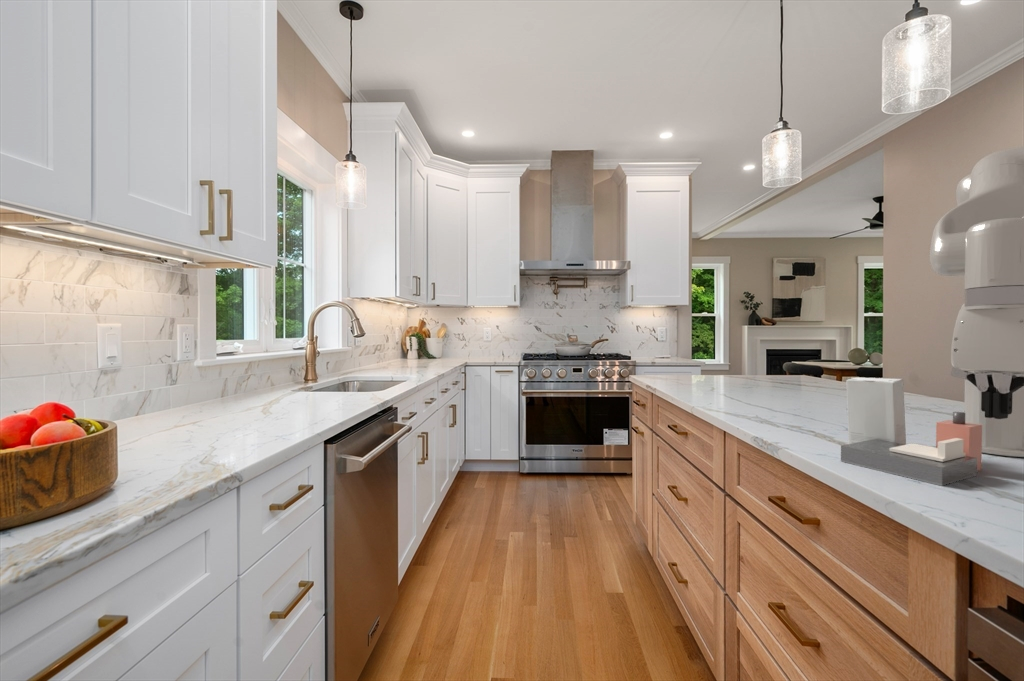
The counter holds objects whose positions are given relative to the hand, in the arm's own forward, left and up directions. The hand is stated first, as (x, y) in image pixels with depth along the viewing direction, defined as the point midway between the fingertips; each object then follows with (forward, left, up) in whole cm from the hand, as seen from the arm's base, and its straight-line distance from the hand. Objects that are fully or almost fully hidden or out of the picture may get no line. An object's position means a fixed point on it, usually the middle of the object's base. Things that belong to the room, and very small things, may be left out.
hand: (996, 417), depth 71 cm
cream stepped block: (-1, -9, -8) cm, 12 cm away
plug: (-8, -8, -11) cm, 16 cm away
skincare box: (-8, -21, -11) cm, 25 cm away
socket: (+1, -12, -11) cm, 16 cm away
